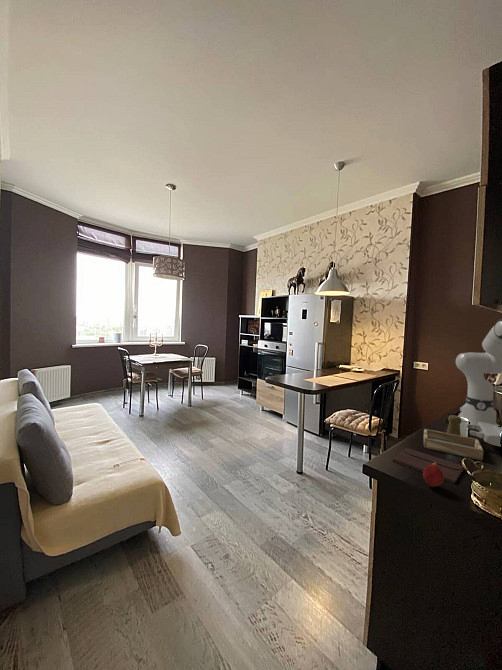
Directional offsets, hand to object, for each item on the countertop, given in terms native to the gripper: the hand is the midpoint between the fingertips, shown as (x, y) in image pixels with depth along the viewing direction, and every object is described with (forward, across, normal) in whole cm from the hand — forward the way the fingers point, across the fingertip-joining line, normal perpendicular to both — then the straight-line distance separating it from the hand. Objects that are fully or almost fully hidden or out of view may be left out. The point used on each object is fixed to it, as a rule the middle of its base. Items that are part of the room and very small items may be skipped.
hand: (468, 429), depth 134 cm
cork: (+5, 0, +6) cm, 8 cm away
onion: (+16, +54, +6) cm, 57 cm away
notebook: (+16, +38, +7) cm, 42 cm away
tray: (+8, +13, +6) cm, 16 cm away
